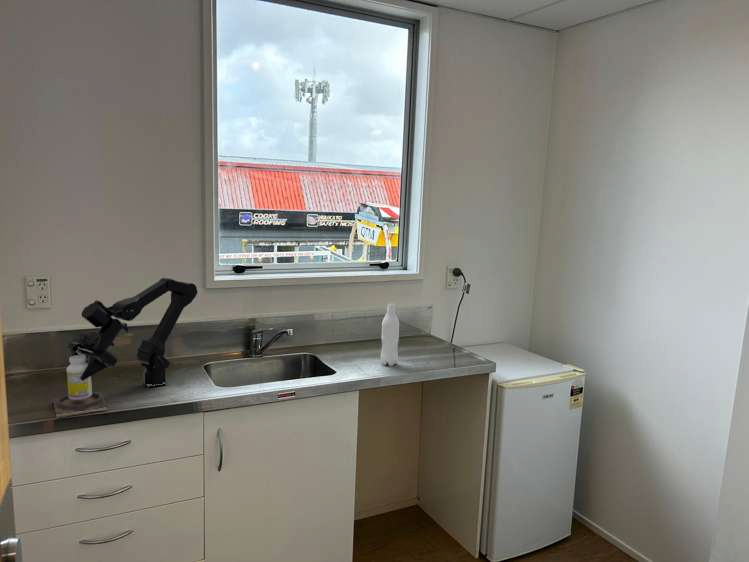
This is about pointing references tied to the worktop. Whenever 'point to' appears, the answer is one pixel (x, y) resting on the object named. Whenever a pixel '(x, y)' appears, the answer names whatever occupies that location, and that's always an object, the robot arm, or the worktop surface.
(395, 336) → the water bottle
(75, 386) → the supplement bottle
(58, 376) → the worktop surface
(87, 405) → the locating board
